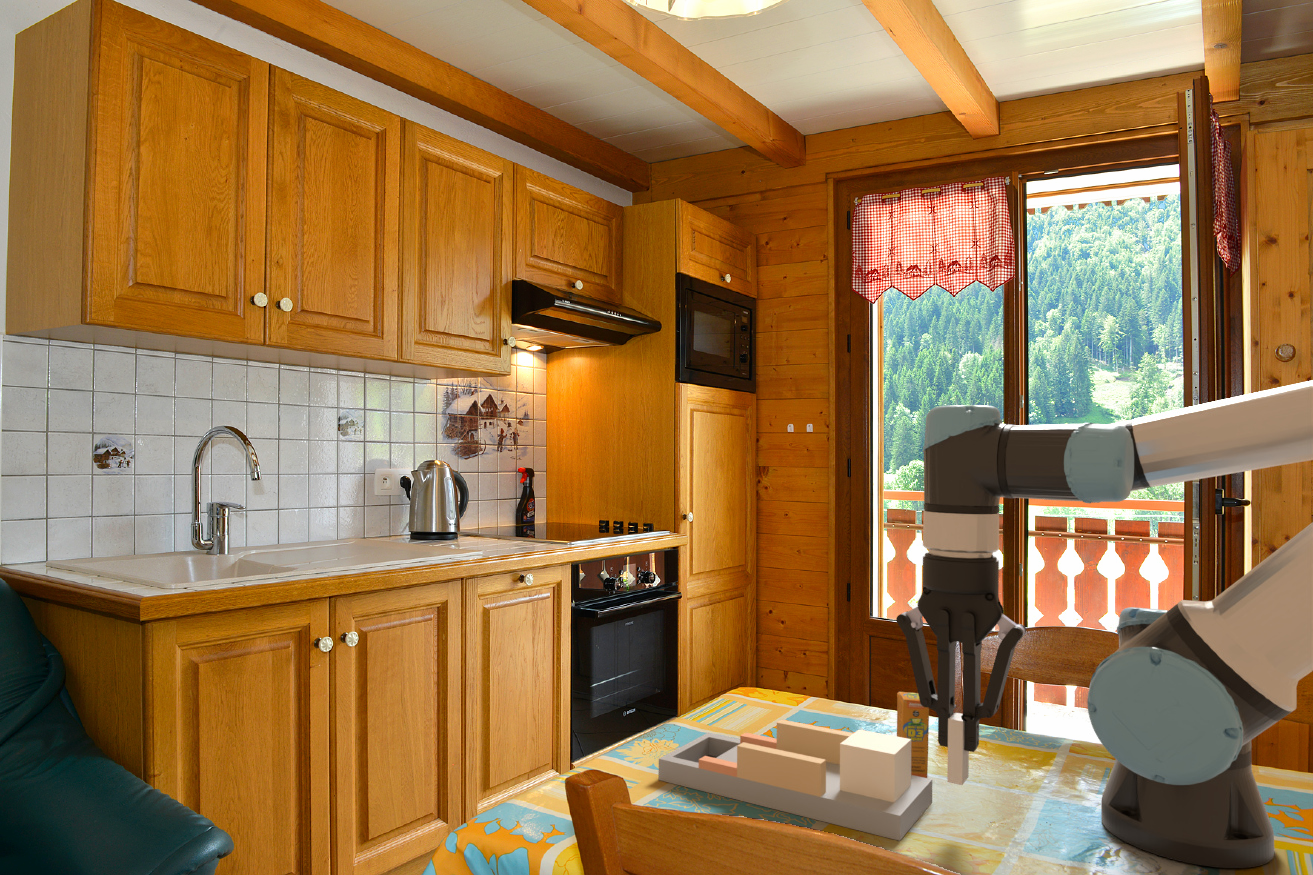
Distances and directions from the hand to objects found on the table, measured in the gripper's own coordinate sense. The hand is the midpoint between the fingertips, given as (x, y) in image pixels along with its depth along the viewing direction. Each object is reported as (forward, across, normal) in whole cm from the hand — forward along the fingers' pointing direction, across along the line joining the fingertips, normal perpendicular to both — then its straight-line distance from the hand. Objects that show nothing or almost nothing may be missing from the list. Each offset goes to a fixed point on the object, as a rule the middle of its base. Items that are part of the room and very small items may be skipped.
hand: (957, 779), depth 89 cm
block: (+3, +9, 0) cm, 9 cm away
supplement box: (+6, +8, -12) cm, 16 cm away
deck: (+5, +19, 0) cm, 19 cm away
